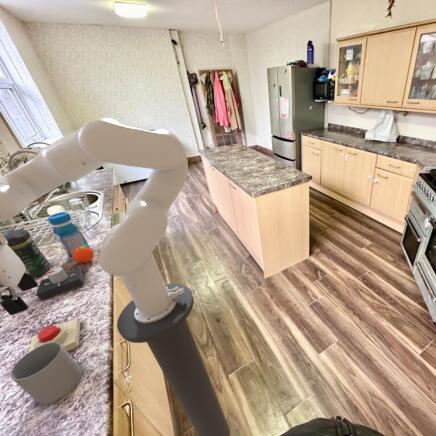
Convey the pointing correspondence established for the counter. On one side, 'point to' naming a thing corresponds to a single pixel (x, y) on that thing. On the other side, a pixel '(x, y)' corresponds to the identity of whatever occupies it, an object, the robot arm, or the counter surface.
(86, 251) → the tomato
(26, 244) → the coffee jar
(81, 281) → the fryer panel
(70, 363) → the cup
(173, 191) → the robot arm
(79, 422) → the counter surface
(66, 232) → the beverage bottle
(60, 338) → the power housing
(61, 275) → the timer knob
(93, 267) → the counter surface
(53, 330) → the power button
